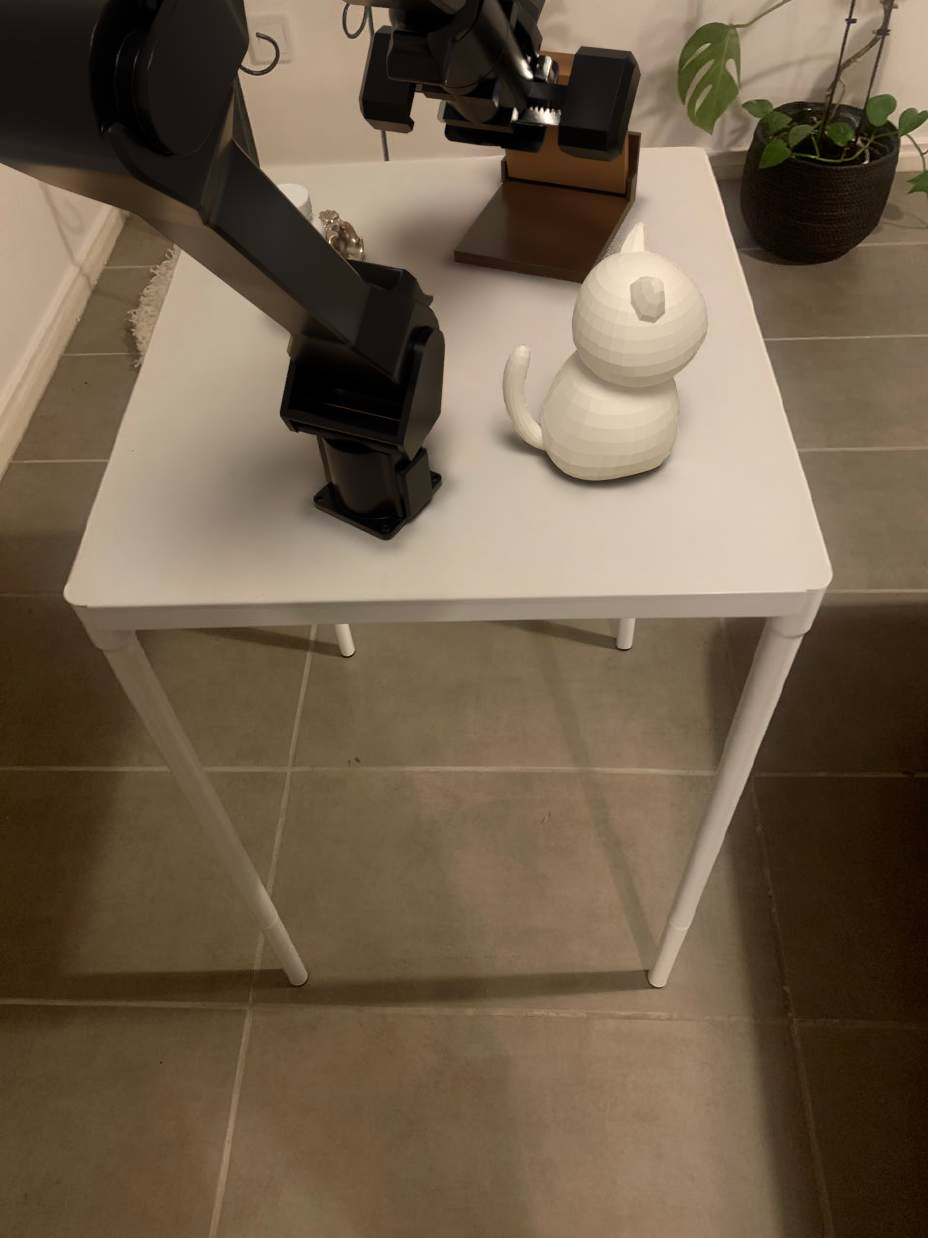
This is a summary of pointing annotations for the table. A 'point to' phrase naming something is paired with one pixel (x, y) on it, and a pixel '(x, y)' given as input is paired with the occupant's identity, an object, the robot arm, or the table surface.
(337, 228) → the ornament
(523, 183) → the stand
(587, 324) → the cat figurine
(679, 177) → the table surface
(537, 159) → the wooden letter rack
